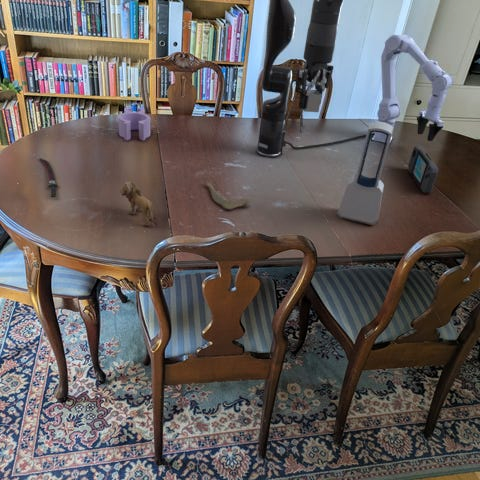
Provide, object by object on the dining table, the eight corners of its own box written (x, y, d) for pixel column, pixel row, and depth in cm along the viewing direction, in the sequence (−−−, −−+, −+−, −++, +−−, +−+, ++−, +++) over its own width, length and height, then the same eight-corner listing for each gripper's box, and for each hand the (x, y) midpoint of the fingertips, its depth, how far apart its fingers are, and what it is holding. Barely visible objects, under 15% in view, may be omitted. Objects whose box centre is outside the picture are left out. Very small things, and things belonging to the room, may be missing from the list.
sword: (61, 197, 141) (61, 193, 140) (50, 198, 139) (50, 194, 139) (49, 160, 164) (48, 156, 163) (39, 160, 163) (39, 157, 162)
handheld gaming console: (406, 168, 186) (413, 144, 180) (412, 169, 186) (420, 145, 180) (423, 194, 166) (432, 168, 161) (430, 195, 166) (439, 169, 161)
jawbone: (235, 216, 142) (236, 211, 141) (188, 193, 152) (187, 188, 151) (254, 205, 147) (254, 199, 146) (207, 183, 158) (207, 178, 157)
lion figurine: (118, 210, 138) (116, 182, 133) (132, 204, 141) (131, 177, 137) (151, 229, 130) (150, 201, 126) (165, 223, 134) (165, 195, 129)
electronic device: (378, 217, 149) (404, 126, 133) (375, 228, 143) (403, 134, 127) (339, 207, 152) (360, 117, 136) (335, 218, 146) (357, 125, 130)
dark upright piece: (301, 132, 210) (312, 62, 194) (282, 129, 211) (292, 60, 195) (302, 125, 218) (314, 58, 201) (285, 123, 219) (294, 56, 202)
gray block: (314, 107, 131) (317, 90, 128) (318, 112, 127) (321, 94, 125) (300, 106, 130) (303, 89, 128) (303, 111, 127) (306, 93, 124)
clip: (120, 122, 199) (119, 106, 195) (149, 123, 202) (149, 107, 198) (118, 140, 183) (117, 123, 179) (151, 140, 185) (150, 123, 181)
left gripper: (323, 36, 126) (312, 98, 135) (292, 40, 117) (282, 107, 126) (347, 42, 122) (334, 105, 131) (317, 46, 113) (305, 114, 122)
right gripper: (416, 99, 195) (407, 131, 202) (436, 110, 183) (426, 143, 191) (431, 100, 197) (421, 131, 204) (452, 111, 185) (440, 143, 192)
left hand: (309, 106), depth 128 cm, fingers closed on gray block, 6 cm apart
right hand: (424, 137), depth 197 cm, fingers open, 7 cm apart
